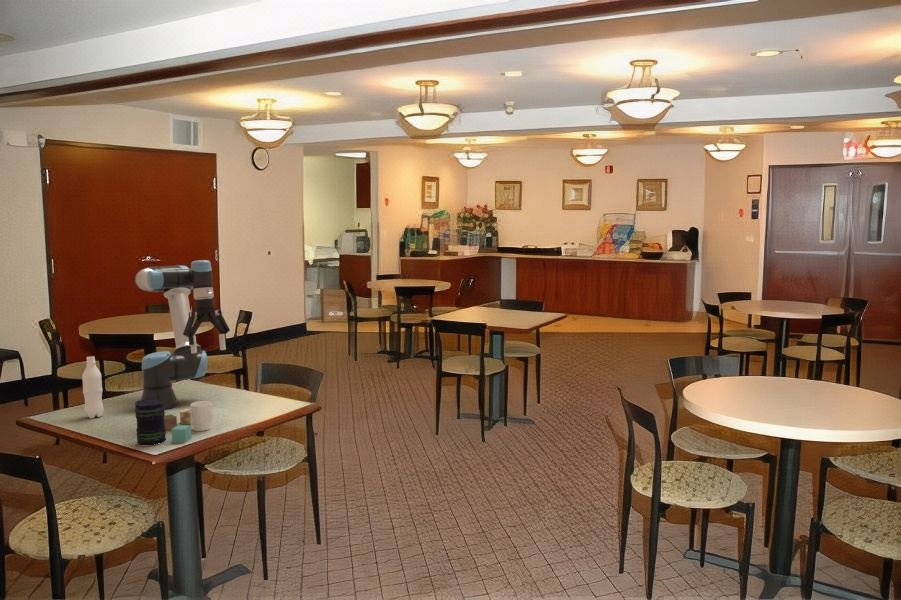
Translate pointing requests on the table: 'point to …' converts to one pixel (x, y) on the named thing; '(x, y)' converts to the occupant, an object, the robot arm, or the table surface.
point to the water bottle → (92, 389)
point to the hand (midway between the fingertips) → (208, 351)
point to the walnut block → (170, 422)
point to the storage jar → (150, 421)
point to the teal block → (181, 433)
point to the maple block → (186, 417)
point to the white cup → (201, 415)
